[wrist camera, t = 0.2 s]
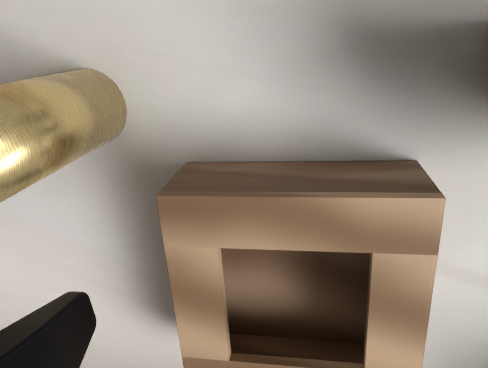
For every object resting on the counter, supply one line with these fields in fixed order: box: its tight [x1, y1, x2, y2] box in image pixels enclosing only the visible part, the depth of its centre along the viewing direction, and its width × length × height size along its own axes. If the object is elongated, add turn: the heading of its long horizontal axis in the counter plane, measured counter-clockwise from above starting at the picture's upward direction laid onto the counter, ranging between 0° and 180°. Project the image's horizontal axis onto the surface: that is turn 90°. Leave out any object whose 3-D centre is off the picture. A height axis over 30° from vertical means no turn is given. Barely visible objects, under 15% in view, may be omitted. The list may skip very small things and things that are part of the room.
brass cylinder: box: [0, 69, 126, 202], centre depth 18 cm, size 4×4×10 cm
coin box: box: [156, 161, 446, 368], centre depth 22 cm, size 13×13×5 cm
